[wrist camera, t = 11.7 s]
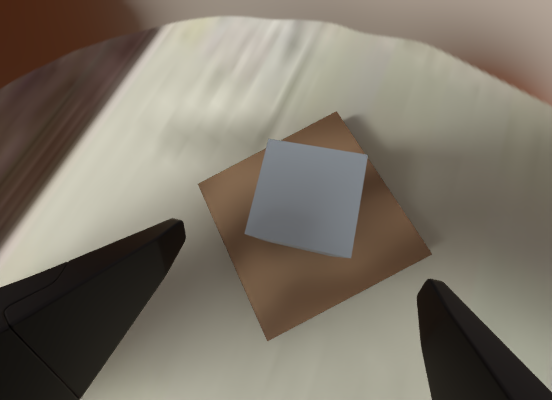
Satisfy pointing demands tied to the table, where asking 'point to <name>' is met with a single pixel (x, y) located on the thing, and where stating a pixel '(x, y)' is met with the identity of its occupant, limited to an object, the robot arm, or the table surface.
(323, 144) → the walnut block
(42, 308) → the robot arm
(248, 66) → the table surface
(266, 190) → the blue-grey block
